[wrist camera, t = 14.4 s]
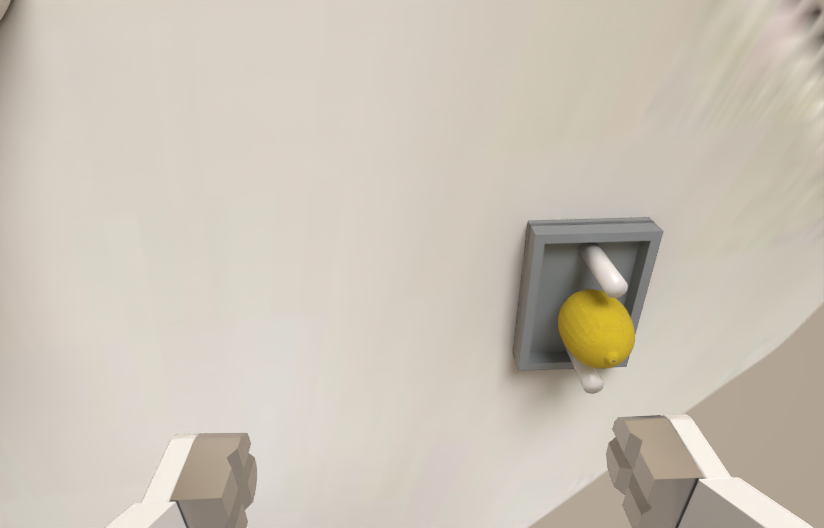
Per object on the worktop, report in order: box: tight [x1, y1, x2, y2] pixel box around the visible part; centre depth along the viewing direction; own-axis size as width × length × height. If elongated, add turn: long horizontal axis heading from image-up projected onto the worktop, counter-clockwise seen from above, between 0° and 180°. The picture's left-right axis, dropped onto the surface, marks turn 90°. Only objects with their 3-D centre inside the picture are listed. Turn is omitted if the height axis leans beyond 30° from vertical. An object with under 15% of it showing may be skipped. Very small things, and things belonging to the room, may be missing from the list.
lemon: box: [558, 289, 635, 369], centre depth 41 cm, size 6×6×8 cm
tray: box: [513, 217, 663, 394], centre depth 42 cm, size 14×10×7 cm
